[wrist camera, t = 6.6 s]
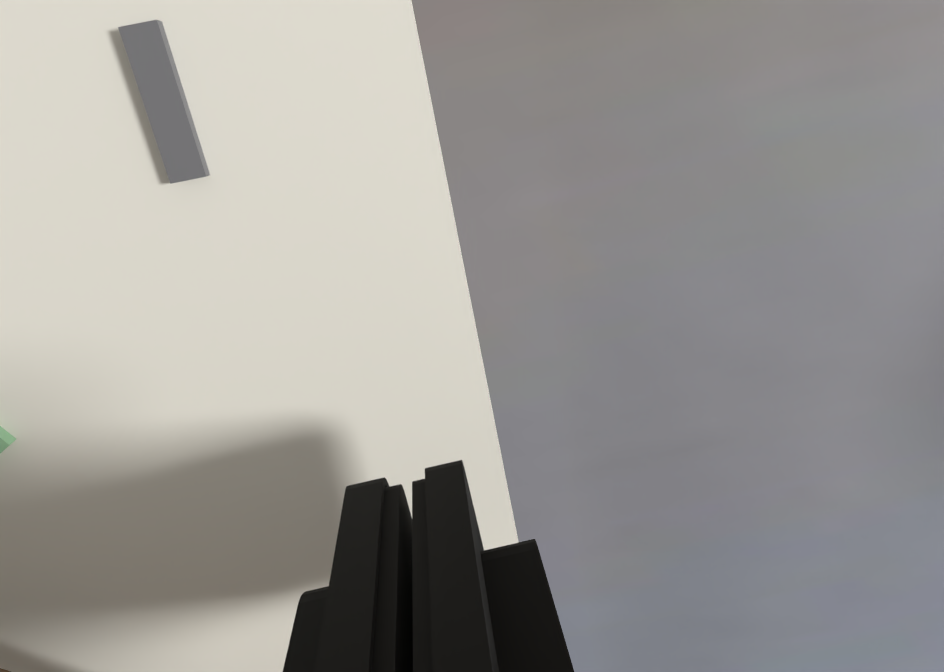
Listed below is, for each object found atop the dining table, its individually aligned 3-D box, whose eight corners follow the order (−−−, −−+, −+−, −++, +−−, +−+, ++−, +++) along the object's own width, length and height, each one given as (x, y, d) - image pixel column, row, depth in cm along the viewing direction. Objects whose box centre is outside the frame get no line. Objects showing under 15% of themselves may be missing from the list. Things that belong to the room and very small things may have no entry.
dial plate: (573, 834, 17) (592, 912, 15) (-116, 994, 16) (-174, 1092, 15) (390, -82, 10) (389, -119, 8) (-789, 146, 10) (-1033, 153, 8)
